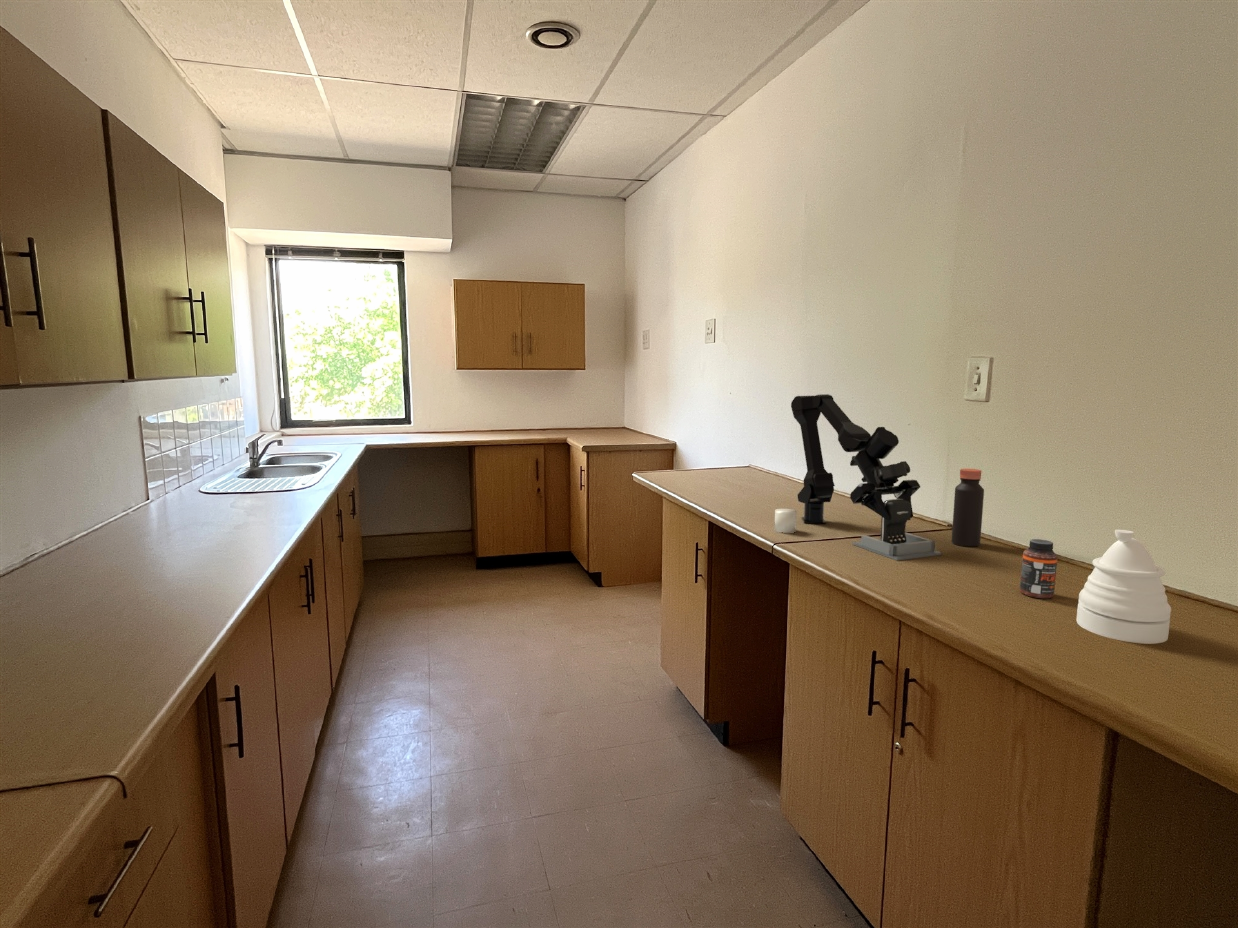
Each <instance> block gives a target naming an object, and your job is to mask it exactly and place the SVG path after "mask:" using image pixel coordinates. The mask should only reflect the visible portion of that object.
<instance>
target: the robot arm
mask: <svg viewBox="0 0 1238 928" xmlns="http://www.w3.org/2000/svg"><path fill="white" fill-rule="evenodd" d="M790 408H791V411H792V416H793V418H794V420H795V421H796V422H797V423H798V424H799V425H800V432H801V437H802V444H803V450H804V456H805V463H806V464H805V465H806V469H807V471H806V473H805V476H804V477H803V488H801V490H800V491H799V492H798V493H797V501H798V502H799V503H802V504H804V511H803V516H801V521H802V522H803V524H817V525H818V524H823V525H825V524H827V521H826V520H825V519H824V513H825V512H824V510H825V509H824V508H825V503H831V500H832V497H833V493H834V491H835V488H834V487H836V485H835V483H834V476H833V473H832V472H828V471H827V470H826V468H825V465H824V464H825V463H824V459H823V458H824V457H823V454H822V446H821V441H820V440H821V438H820V434H819V427H818V421H819V419H820V416H821V414H822V416H823V417H824V418H825V419H826V421H827V422H828V423H829V424H830V425H831V427H832V428H833V430H835V432H836V433H837V441H838V443H839V444H840V446H841V448H842V450H843V451H844V452H845V453H856V455H852V457H851V460H850V462H849V464H850V466H851V467H855V466H856V467H857V468H858V469H859V471H860V473H861V474H862V476H863V477H862V478H861V481H862V483H859V484H857V486H856V487H855V488H854V489H853V490H852V491H851V492H850V496H849V497H850V500H851V502H852V503H853V505H857V504H860V505H861V506H864V507H866V508H867V509H869V510H871V511H873V512H874V513H876V514H877V515H878V516H880V517H881V518H882V517H883V518H885V519H886V520H888V521H889V520H890V519H891V517H890V514H889V512H888V510H887V508H886V506H885V504H884V500H883V496H884V495H886V496H887V495H893V496H894V497H895V498H894V499H903V500H906V501H908V502H909V503H910V504H911V519H912V518H913V517H914V513H913V506H912V505H913V504H912V496H913V495H914V494H915V493H916V492H917V491H919V489H921V485H920V484H919V481H918V480H917V479H904V480H902V481H901V482H900V483H899V484H897V483H898V482H899V478H902V477H907V476H908V474H909V473H911V467H910V465H909V464H908V462H907V461H905V460H904V461H900V462H897V463H893V464H889V465H883V463H882V461H881V460H883V459H886V458H887V457H888V456H889V455H890V453H891V452H893V450H894V449H895V448H896V447H897V446H898V445H899V442H900V440H899V437H898V436H897V435H896V434H894V432H892V431H890V430H887V429H886V427H885V426H878V427H876V429H875V430H874V432H873V433H872V435H871V434H870V432H869V431H867V429H865V428H863V427H862V426H860V425H858V424H855V423H854V422H853V421H852V420H851V418H849V417H848V415H847V414H846V413H845V411H843V409H842V408H841V407H840V406H839V405H838V403H837V402H835V399H834V396H833V395H831V394H829V393H827V394H821V393H819V394H816V395H796V396H794V398H793V400H791V404H790ZM895 484H897V485H895Z"/></svg>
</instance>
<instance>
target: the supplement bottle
mask: <svg viewBox="0 0 1238 928" xmlns="http://www.w3.org/2000/svg"><path fill="white" fill-rule="evenodd" d="M1028 546H1029V547H1028V548H1027V549H1025V550H1023V553H1022V563H1021V574H1020V582H1019V591H1020V593H1022V594H1023V595H1025V596H1028V597H1031V598H1035V599H1045V600H1046V599H1051V598H1053V597H1054V595H1055V587H1056V578H1057V570H1058V568H1057V567H1058V555H1057V553H1056V552H1055V551H1054V550H1053V549H1054V542H1053V541H1050V540H1047V539H1039V538H1037V539H1036V538H1032V539H1030V540H1029V545H1028Z"/></svg>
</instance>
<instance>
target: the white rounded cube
mask: <svg viewBox="0 0 1238 928" xmlns="http://www.w3.org/2000/svg"><path fill="white" fill-rule="evenodd" d="M796 531H797V510H796V509H793V508H776V509H774V532H775V533H779V532H783V533H782V534H795V533H796ZM794 532H795V533H794Z"/></svg>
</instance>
